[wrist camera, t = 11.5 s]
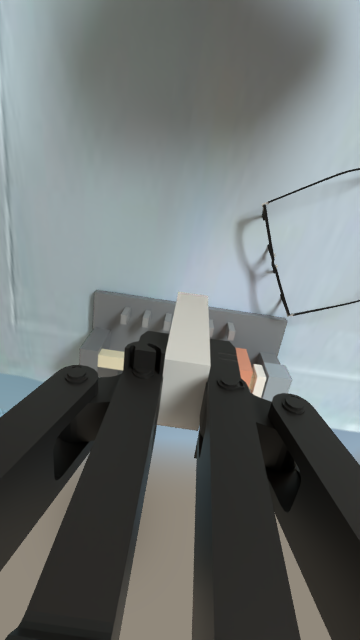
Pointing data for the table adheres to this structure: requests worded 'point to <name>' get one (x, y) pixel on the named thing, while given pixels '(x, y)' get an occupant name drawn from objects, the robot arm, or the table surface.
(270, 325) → the cable comb board
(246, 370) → the banded orange cube
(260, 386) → the cream long bar
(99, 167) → the table surface
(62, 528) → the robot arm
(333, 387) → the table surface
